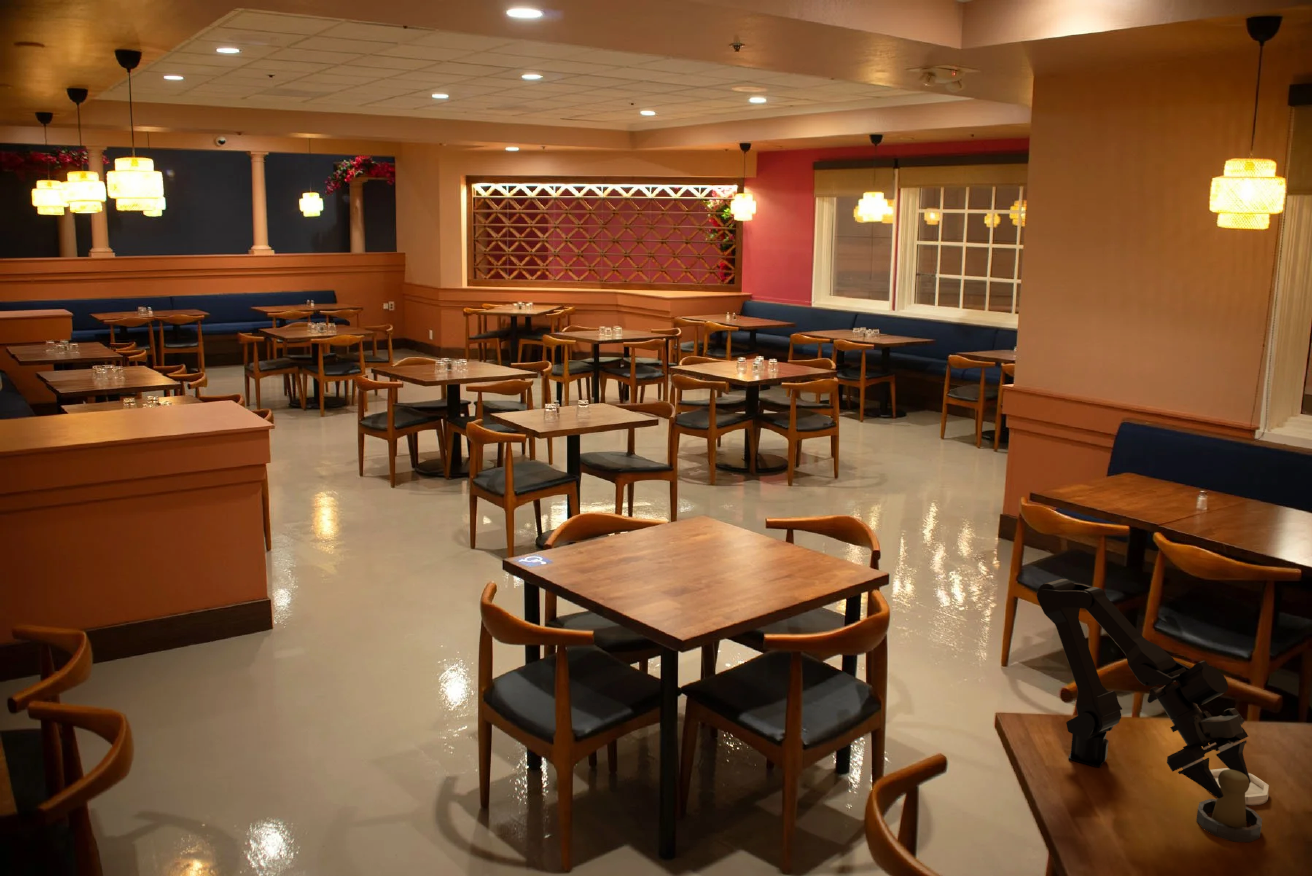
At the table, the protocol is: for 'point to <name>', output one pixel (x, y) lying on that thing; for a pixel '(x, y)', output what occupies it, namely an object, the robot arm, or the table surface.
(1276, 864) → the table surface
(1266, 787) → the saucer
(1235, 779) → the cork
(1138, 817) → the table surface
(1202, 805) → the dark grey ring
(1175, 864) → the table surface
